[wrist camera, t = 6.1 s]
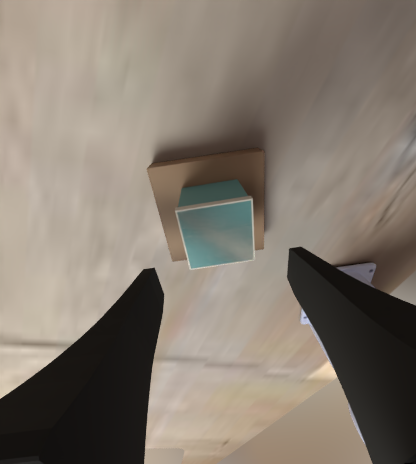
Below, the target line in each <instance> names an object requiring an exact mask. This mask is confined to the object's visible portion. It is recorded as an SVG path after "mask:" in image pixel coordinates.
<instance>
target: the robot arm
mask: <svg viewBox="0 0 416 464" xmlns="http://www.w3.org/2000/svg"><path fill="white" fill-rule="evenodd" d="M375 269H376V264H374V263H372V262H371V263H364V264H357V265H350V266H343V267H334V266H332V265H331V264H329V263H327V262H326V261H324V260H322V259H321V258H319V257H317V256H316V255H314V254H312V253H311V252H309V251H308V250H306V249H304V248H302V247H296V248H289V260H288V273H287V278H288V281H289V283H290V286H291V288H292V290H293V293H294V295H295V297H296V298H297V300H298V302H299V304H300V305H301V307H302V310H301V317H300V322H301V324H309V325H310V327H311V329H312V331H313V333H314V334H315V336H316V338H317V340H318V342H319V344H320V345H321V347H322V349H323V351H324V353H325V355H326V356H327V358H328V360H329V362H330V364H331V365H332V367H333V368H334V370H335V372H336V374H337V377H338V379H339V381H340V383H341V385H342V388H343V390H344V392H345V395H346V397H347V400H348V406H349V411H350V414H351V417H352V420H353V422H354V425H355V426H356V428H357V431H358V433H359V435H360V436H361V438H362V440H363V442H364V443H365V445H366V447H367V449H368V452H369V455H370V458H371V460H372V463H373V464H416V306H415V305H413V304H410V303H408V302H405V301H403V300H400V299H398V298H396V297H393V296H391V295H389V294H387V293H384V292H382V291H380V290H378V289H376V288H375V287H374V286H373V285H372V284H371V280H372V278H373V275H374V272H375ZM163 305H164V293H163V290H162V287H161V284H160V282H159V279H158V276H157V273H156V270H155V268H150V269H143V271H142V272H141V273H140V274H139V275H138V277H137V278H136V279H135V280H134V281H133V283H132V284H131V285H130V286H129V287H128V289H127V290H126V291H125V292H124V293H123V295H122V296H121V297H120V298H119V299H118V300H117V301H116V303H115V304H114V305H113V306H112V307H111V308H110V309H109V310H108V311H107V312H106V313H105V314H104V316H103V317H102V318H101V319H100V320H99V321H98V322H97V323H96V324H95V325H94V326H93V327H91V328H90V329H89V330H88V331H87V332H86V333H85V334H84V335H83V336H82V337H81V338H80V339H78V340H77V341H76V342H75V343H74V344H72V345H71V346H70V347H69V348H68V349H67V350H65V351H64V352H63V353H62V354H61V355H59V356H58V357H57V358H56V359H54V360H53V361H52V362H51V363H49V364H48V365H47V366H46V367H44V368H43V369H42V370H40V371H39V372H38V373H36V374H35V375H34V376H32V377H31V378H30V379H28V380H27V381H25V382H24V383H23V384H21V385H20V386H18V387H17V388H16V389H14V390H13V391H11V392H10V393H8V394H7V395H5V396H4V397H2V398H1V399H0V464H144V456H145V439H146V426H147V412H148V402H149V391H150V382H151V373H152V365H153V359H154V353H155V349H156V344H157V339H158V334H159V329H160V325H161V320H162V314H163Z"/></svg>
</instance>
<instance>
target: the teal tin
mask: <svg viewBox="0 0 416 464" xmlns="http://www.w3.org/2000/svg"><path fill="white" fill-rule="evenodd" d="M175 213H176V217H177V221H178V225H179V229H180V233H181V237H182V241H183V244H184V248H185V252H186V256H187V260H188V264H189V268H190V270H193V269H200V268H206V267H213V266H220V265H226V264H233V263H240V262H246V261H253V260H255V248H254V220H253V198H252V197H251V196H248V195H247V193H246V192H245V190H244V189H243V187H242V186H241V184H240V183H239V181H238V180H237V179H235V180H229V181H223V182H217V183H210V184H204V185H198V186H192V187H186V188H181V194H180V199H179V204H178V207H176V209H175Z"/></svg>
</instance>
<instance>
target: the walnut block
mask: <svg viewBox="0 0 416 464" xmlns="http://www.w3.org/2000/svg"><path fill="white" fill-rule="evenodd" d="M147 172H148V175H149V179H150V182H151V186H152V190H153V193H154V197H155V200H156V204H157V208H158V211H159V215H160V218H161V222H162V226H163V229H164V233H165V236H166V240H167V243H168V247H169V251H170V254H171V258H172V261H173V262H174V261H181V260H187V256H186V252H185V248H184V244H183V241H182V237H181V233H180V229H179V225H178V221H177V217H176V213H175V209H176V207H178V204H179V199H180V194H181V188H186V187H192V186H198V185H204V184H210V183H217V182H223V181H229V180H235V179H237V180H238V181H239V183H240V184H241V186H242V187H243V189H244V190H245V192H246V193H247V195H248V196H251V197H252V198H253V220H254V248H255V250H261V249H264V151H263V150H261V149H259V148H252V149H246V150H239V151H232V152H226V153H219V154H212V155H206V156H199V157H192V158H186V159H179V160H172V161H166V162H159V163H152V164H151V165H150V166H149V167H148V168H147Z"/></svg>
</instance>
